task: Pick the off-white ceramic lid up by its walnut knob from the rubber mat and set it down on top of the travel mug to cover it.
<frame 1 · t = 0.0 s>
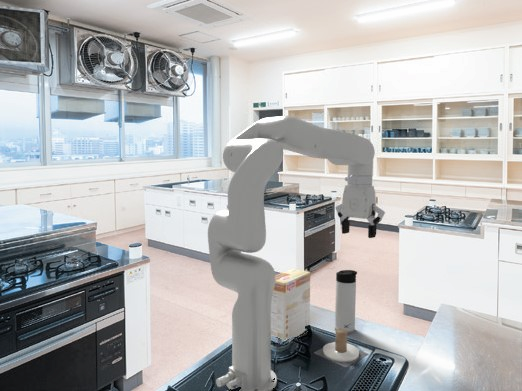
hand: (358, 235, 127), 31 cm above the countertop, tool pointing down, fingers open, 9 cm apart
lid: (340, 353, 114), resting on mat
mat: (340, 354, 114), on the countertop
coffeecake box: (288, 336, 126), on the countertop
travel mug: (345, 331, 129), on the countertop
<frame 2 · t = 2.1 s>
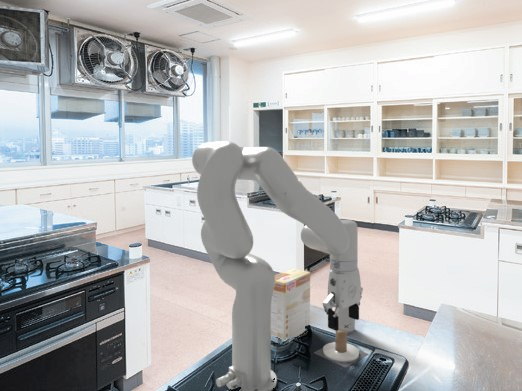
hand: (343, 323, 113), 9 cm above the countertop, tool pointing down, fingers open, 9 cm apart
nothing on the countertop moved.
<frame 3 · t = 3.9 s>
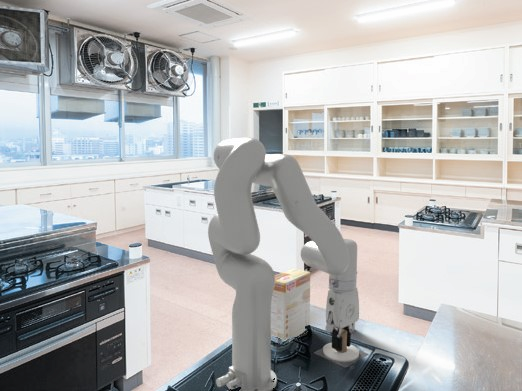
hand: (341, 346, 113), 2 cm above the countertop, tool pointing down, fingers closed on lid, 3 cm apart
lid: (340, 353, 114), resting on mat, touching gripper
everything else where it was.
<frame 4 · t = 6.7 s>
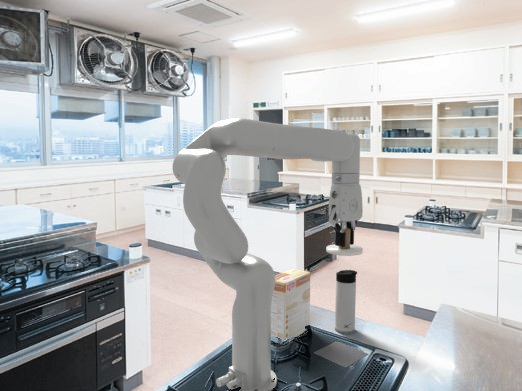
hand: (344, 244, 113), 31 cm above the countertop, tool pointing down, fingers closed on lid, 3 cm apart
lid: (344, 251, 113), point 29 cm above the countertop, touching gripper
everything else where it was.
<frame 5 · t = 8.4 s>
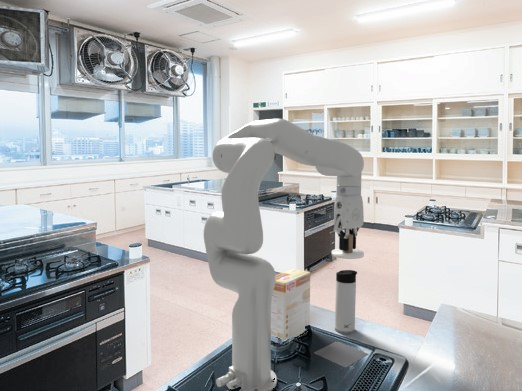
hand: (347, 248, 127), 27 cm above the countertop, tool pointing down, fingers closed on lid, 3 cm apart
lid: (347, 255, 127), point 25 cm above the countertop, touching gripper
everything else where it was.
when the fingers open (23 cm above the countertop, at t = 9.6 s): lid drops 2 cm, resting on travel mug.
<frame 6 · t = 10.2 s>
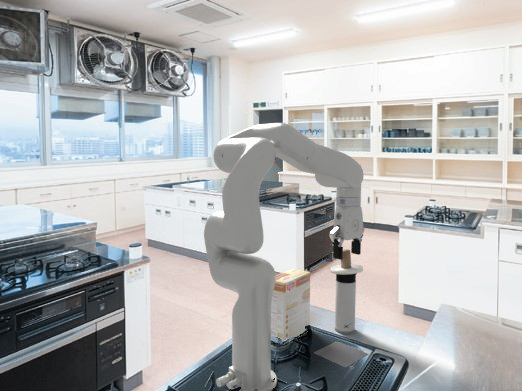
hand: (347, 256, 127), 25 cm above the countertop, tool pointing down, fingers open, 9 cm apart
lid: (346, 270, 127), point 20 cm above the countertop, tilted 6°, touching travel mug
travel mug: (345, 331, 129), on the countertop, touching lid
everything else where it was.
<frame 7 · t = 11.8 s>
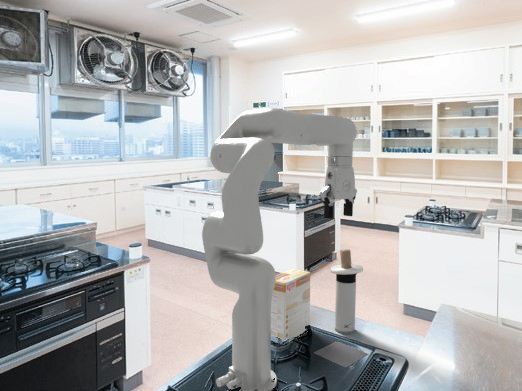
hand: (338, 217, 127), 37 cm above the countertop, tool pointing down, fingers open, 9 cm apart
nothing on the countertop moved.
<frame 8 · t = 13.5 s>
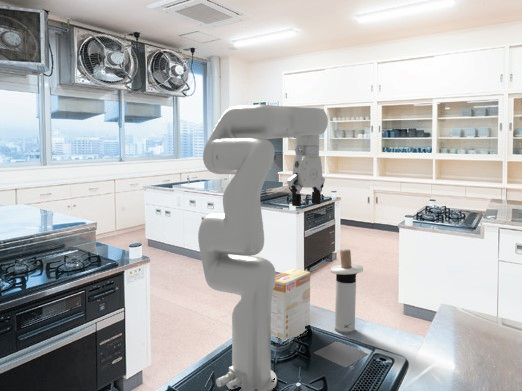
hand: (306, 205, 130), 40 cm above the countertop, tool pointing down, fingers open, 9 cm apart
nothing on the countertop moved.
at the end: lid 0.1 cm off-centre on the travel mug, point 20.1 cm above the travel mug's base; travel mug tilted 0°; the gripper is holding nothing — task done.
